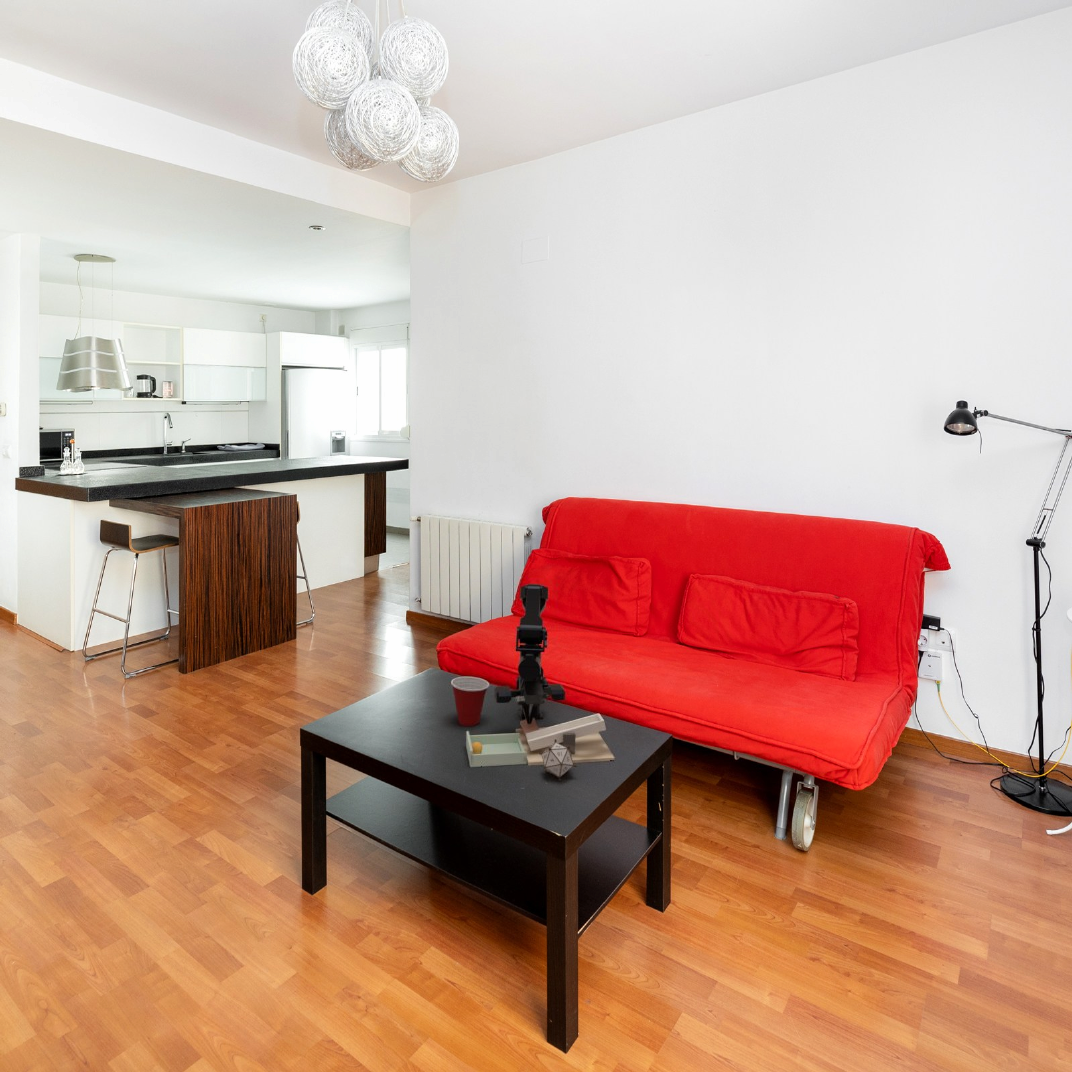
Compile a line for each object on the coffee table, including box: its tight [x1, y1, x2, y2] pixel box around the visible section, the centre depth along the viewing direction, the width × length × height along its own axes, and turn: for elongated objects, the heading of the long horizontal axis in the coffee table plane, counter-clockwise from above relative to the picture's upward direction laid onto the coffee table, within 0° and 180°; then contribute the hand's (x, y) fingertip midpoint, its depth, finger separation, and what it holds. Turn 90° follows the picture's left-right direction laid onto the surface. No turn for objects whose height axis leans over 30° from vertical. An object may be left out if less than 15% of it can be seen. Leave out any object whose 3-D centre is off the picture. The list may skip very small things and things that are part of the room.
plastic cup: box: [450, 676, 490, 727], centre depth 205 cm, size 11×11×12 cm
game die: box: [539, 739, 578, 782], centre depth 174 cm, size 9×8×10 cm
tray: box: [465, 730, 528, 768], centre depth 185 cm, size 12×14×4 cm
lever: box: [519, 713, 607, 751], centre depth 193 cm, size 17×20×3 cm
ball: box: [472, 742, 482, 754], centre depth 184 cm, size 3×3×3 cm
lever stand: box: [515, 722, 615, 766], centre depth 191 cm, size 21×22×6 cm
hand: (529, 723), depth 198 cm, fingers closed
